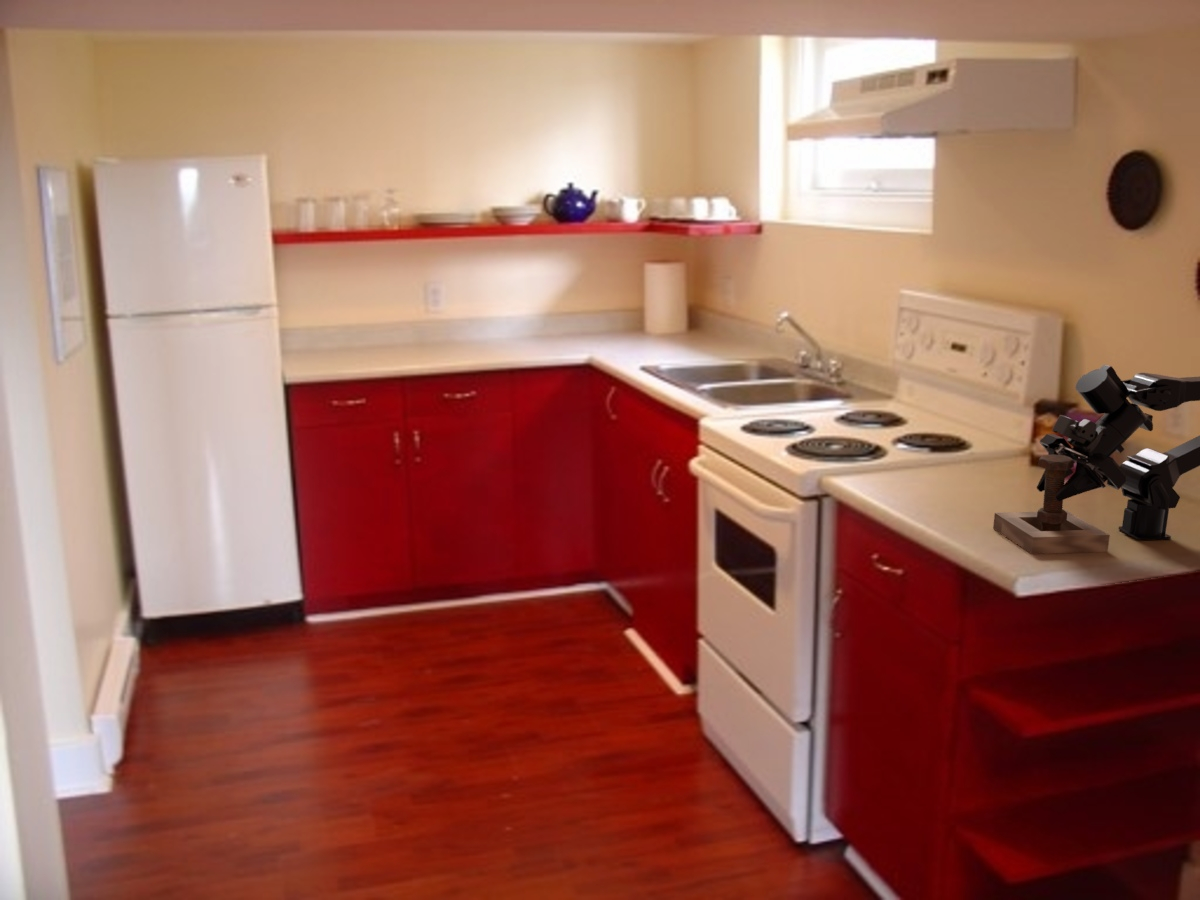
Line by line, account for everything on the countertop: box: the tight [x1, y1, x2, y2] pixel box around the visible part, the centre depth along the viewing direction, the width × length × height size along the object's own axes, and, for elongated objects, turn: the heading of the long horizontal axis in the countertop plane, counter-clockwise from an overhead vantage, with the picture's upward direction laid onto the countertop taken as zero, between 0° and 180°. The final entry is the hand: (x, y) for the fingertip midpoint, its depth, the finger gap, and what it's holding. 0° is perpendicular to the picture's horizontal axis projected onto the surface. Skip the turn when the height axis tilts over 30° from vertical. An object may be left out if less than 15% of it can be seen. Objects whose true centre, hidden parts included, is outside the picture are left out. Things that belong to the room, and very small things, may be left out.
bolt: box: [1036, 454, 1075, 531], centre depth 202 cm, size 6×5×15 cm
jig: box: [992, 510, 1111, 555], centre depth 204 cm, size 14×14×3 cm
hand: (1047, 494), depth 202 cm, fingers open, 5 cm apart
